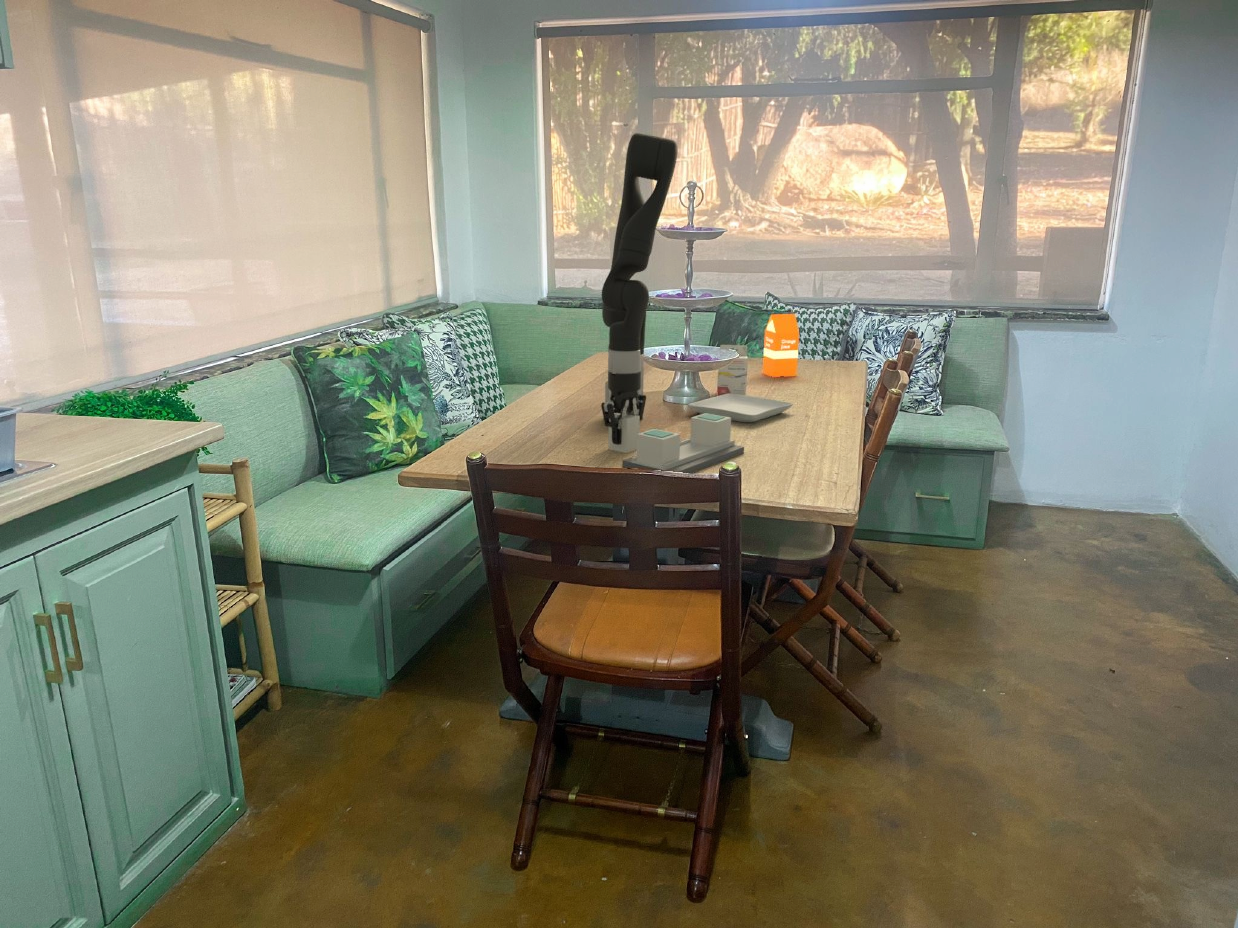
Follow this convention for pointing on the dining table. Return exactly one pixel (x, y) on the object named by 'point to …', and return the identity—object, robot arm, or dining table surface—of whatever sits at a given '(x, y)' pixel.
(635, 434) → the loose module
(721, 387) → the ink cartridge box
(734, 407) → the salad plate
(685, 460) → the board
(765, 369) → the orange juice
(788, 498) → the dining table surface
